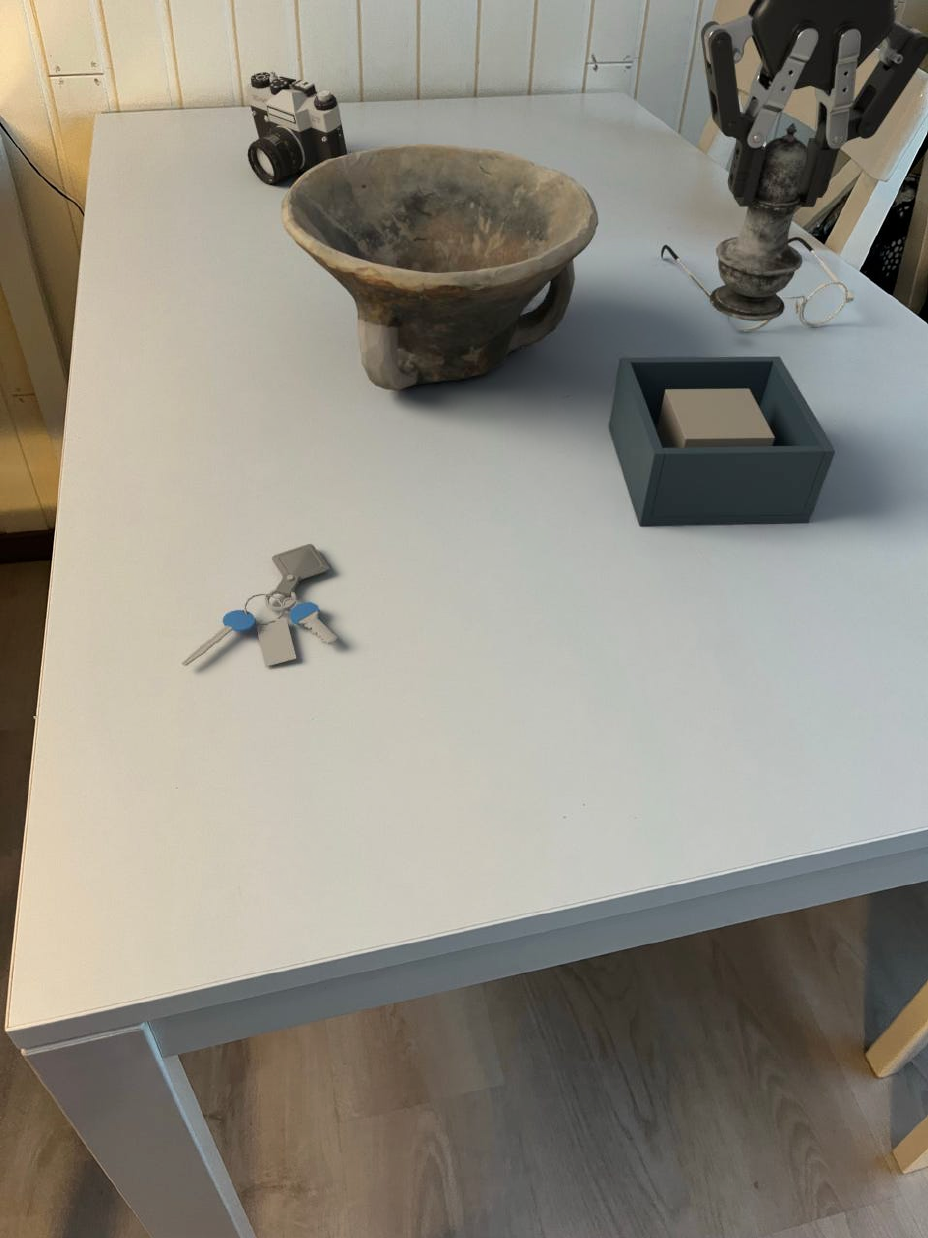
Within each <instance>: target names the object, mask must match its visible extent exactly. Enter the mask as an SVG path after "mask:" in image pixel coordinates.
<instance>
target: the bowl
mask: <svg viewBox="0 0 928 1238" xmlns="http://www.w3.org/2000/svg"><path fill="white" fill-rule="evenodd" d="M347 154H348V155H345V156H341V157H338V158H333V159H328V160H326V161H324V162H322V163H320V164H318V165H317V166H315V167H313V168H311V169H310V170H308V171H307V172H303V174H302V175H301V176H300V177H298V178H297V179H296V180H295V182H294V183H293V184H292V185H291V187H290V188H289V189H288V190H287V192H286V193H285V195H284V197H283V198H282V201H281V205H280V207H281V208H280V219H281V221H282V224H283V227H284V229H285V231H286V232H287V233H288V235H289V236H290V237H291V238H292V240H293V241H294V242H295V244H296V245H298V246H299V247H300V248H301V249H302V250H303V251H304V252H305V253H307V254H308V256H309V257H311V258H312V259H313V260H314V261H315V263H317V265H319V267H321V268H323V269H324V270H325V271H327V273H329V274H330V275H331V276H332V277H333V278H334V279H335V280H336V281H337V282H338V283H339V284H340V285H341V286H342V287H343V288H344V289H345V290H346V291H347V292H348V294H350V296H351V297H352V299H353V302H354V303H355V306H356V307H355V308H356V311H357V335H358V336H357V337H358V338H357V339H358V344H359V345H358V346H359V352H360V359H361V365H362V366H363V368H364V371H365V373H366V375H367V378H368V380H369V381H370V382H371V383H372V384H373V385H374V386H376V387H378V388H381V389H383V390H389V391H399V390H402V389H405V388H408V387H411V386H416V385H426V384H434V383H439V382H440V383H441V382H448V381H459V380H465V379H468V378H471V377H473V376H481V375H486V374H488V373H490V372H492V371H494V370H495V369H497V368H498V367H500V366H501V365H502V364H504V363H505V361H506V360H507V358H508V355H509V353H511V352H514V351H517V350H521V349H524V348H527V347H530V346H534V345H536V344H538V343H540V342H542V341H543V340H544V339H546V338H547V337H548V336H549V335H550V334H551V333H552V332H554V331H555V330H556V329H557V327H558V326H559V324H560V323H561V322H562V320H563V319H564V317H565V314H566V311H567V309H568V306H569V304H570V301H571V298H572V294H573V290H574V286H575V280H576V275H575V264H574V259H576V258H577V257H578V256H579V255H580V254H581V253H583V251H584V250H586V248H587V247H588V245H590V243H592V240H593V238H594V236H595V234H596V232H597V227H598V226H599V213H598V210H597V207H596V205H595V202H594V200H593V198H592V196H591V195H590V193H589V192H588V191H587V190H586V188H585V187H583V186H582V185H581V184H580V183H578V181H576V179H574V178H573V177H571V176H570V175H568V174H566V173H564V172H561V171H559V170H555V169H553V168H552V169H551V168H548V167H545V166H543V165H539V164H538V163H536V162H533V161H531V160H529V159H527V158H525V157H522V156H520V155H517V154H516V155H515V154H513V153H510V152H509V153H508V152H504V151H502V150H495V149H489V148H479V147H478V148H477V147H476V148H475V147H468V146H467V147H466V146H458V145H448V144H433V143H407V144H400V145H393V146H382V147H377V148H372V149H367V150H366V149H365V150H360V151H356V152H351V153H347ZM548 284H549V286H548V291H547V293H546V295H545V297H544V299H543V300H542V302H541V303H540V304H539V305H538V306H536V308H534V309H532V310H531V311H528V312H525V313H523V312H524V310H525V308H527V306H528V305H530V303H531V302H532V301H533V300H534V298H536V297H537V296H538V294H540V292H541V291H542V290H543V289H544V288H545V287H546V286H547V285H548ZM522 313H523V314H522Z"/></svg>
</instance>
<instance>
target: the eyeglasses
mask: <svg viewBox="0 0 928 1238" xmlns="http://www.w3.org/2000/svg"><path fill="white" fill-rule="evenodd" d="M793 242H800V243H801V244H802V245H803V247H805V248H806V249H807V250H808V251H809V253H810V254H812V255H813V256H815V258H816V259H817V260H818V262H819V264H820V265H821V266H822V267H823V268H824V270H825V272H826V273H827V274H828V275H829V276H830V278H832V281H828V282H825V283H823V284H821V285H820V286H817V288H815V289H814V290H813V291H812V292H810V294H809V295H808V296H807V297H805V295H804V294H802V295H796V296H795V295H794V296H787V295H782V296H779V297H780V298H781V299H782V300H783V299H784V300H785V299H789V300H793V299H796V300H794V311H795V314H798V315H797V316H798V319H799V321H800V322H801V324H802V325H805V326H806V327H813V328H817V327H819V325H822V324H825V323H827V322H829V321H830V320H832V319H833V318H834V317H836V316H837V315H838V314H839V313H840V311H841V310H842V309H843V308H844V307H845V304H847V303H851V302H854V300H855V297H854V296H853V294H851V292H850V291H849V290H848V288H847V286H845V285H844V284H843V283H842V281H841V280H839V278H838V277H837V276H836V275H835V274H834V272H833V271H832V270H831V269H830V268H829V267H828V266H827V264H826V263H825V262H824V261H823V260H821V259H820V258H819V256H818V255H817V254H816V251H815V249H814V248H813V247H812V246H811V244H810V243H808V242H807V241H806V240H805V239H804V238H802V237H800V236H794V237H791V238H788V244H791V243H793ZM665 250H666V251H668V253H669V254H670V256H671V257H672V258H673V259H674V261H675V262H677V263H678V264H679V265H680V266H681V267H682V268H683V269H684V270H685V272H686V274H687V275H688V276H689V277H690V278H691V280H692V281H693V282H694V283H695V285H697V287H699V289H700V290H701V291H702V292H703V294H705V296H706V297H707V298H708V299H709V300H710V295H711V293H710V292H709V291H708V290H707V289H706V288H705V286H704V285H703V284H702V283H701V281H699V280H698V279H697V278H696V277H695V275H694V274H693V273H692V272H691V270H689V268H687V267H685V265H684V264H683V263H682V261H681V258H680V257H679V256H678V255H677V254H676V253H675V251H674V250H673V249H672V248H671V246H669V245H668V244H664V245H662V247H661V251H660V257H661V260H663V258H664V253H665ZM830 285H837V286H838V287H839V288H840V290H841V291H842V292H843V293H844V298H843V300H842V303H841V304H840V306H839V307H838V308H837V310H836V311H835V312H834V313H832V314H831V315H830V316H828V317H827V318H825V319H824V320H821V321H817V322H811V321H807V320H806V318H805V315H804V313H805V310H806V309H805V308H806V306H807V304H808V302H809V301H810V299H811V298H812V297H813V296H814V295H815V294H816V293H817V292H818V291H820V290H821V289H823V288H824V287H825V288H826V287H827V286H830ZM798 299H800V301H799V302H798ZM727 319H728V322H729V324H730V325H731V326H732V327H733V328H734V329H736V330H739V331H742V333H748V332H754V331H756V330H760V329H761V328H763V327H765V326H766V325H768V324H769V323H770V322H771V321H773V319H771V320H765V321H761V322H760V323H758V324H756V325H753V326H750V327H739V326H736V325H734V324H733V322H732V321H731V317H730V316H728V315H727Z"/></svg>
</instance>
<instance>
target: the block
mask: <svg viewBox="0 0 928 1238" xmlns="http://www.w3.org/2000/svg"><path fill="white" fill-rule="evenodd" d="M657 434H658V437H659V440H660V442H661V445H662V448H685V447H756V446H772V445H773V442H774V439H775V437H774V435H773V433H772V431H771V429H770V427H769V425H768V424H767V422H766V420H765V418H764V416H763V414H762V412H761V410H760V408H759V406H758V404H757V402H756V401H755V399H754V397H753V395H752V393H751V391H750V389H666V390H665V394H664V399H663V404H662V409H661V414H660V418H659V423H658V428H657Z"/></svg>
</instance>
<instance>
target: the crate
mask: <svg viewBox="0 0 928 1238" xmlns="http://www.w3.org/2000/svg"><path fill="white" fill-rule="evenodd" d="M666 389H750V391H751V393H752V395H753V397H754V399H755V401H756V402H757V404H758V406H759V408H760V410H761V412H762V414H763V416H764V418H765V420H766V422H767V424H768V425H769V427H770V429H771V431H772V433H773V435H774V437H775V439H774V442H773V445H772V446H756V447H685V448H662V445H661V442H660V440H659V437H658V434H657V428H658V423H659V418H660V414H661V409H662V404H663V399H664V394H665V390H666ZM607 428H608V430H609V431H608V432H609V433H610V436H611V441H612V443H613V447H614V449H615V453H616V456H617V460H618V462H619V465H620V469H621V472H622V475H623V478H624V481H625V484H626V488H627V491H628V494H629V497H630V500H631V504H632V507H633V510H634V514H635V517H636V520H637V523H638V526H639V527H655V526H656V527H657V526H658V527H659V526H662V527H663V526H665V527H666V526H704V525H705V526H709V525H710V526H711V525H712V526H714V525H755V524H757V525H758V524H761V525H762V524H763V525H765V524H806V523H810V521H811V518H812V515H813V513H814V511H815V508H816V506H817V502H818V500H819V498H820V494H821V492H822V490H823V486H824V483H825V481H826V480H827V479H826V478H827V476H828V474H829V470H830V467H831V465H832V462H833V460H834V457H835V455H836V449H835V448H834V446H833V444H832V443H831V441H830V439H829V437H828V436H827V434H826V433H825V431H824V429H823V427H822V426H821V424H820V422H819V420H818V419H817V417H816V415H815V414H814V412H813V411H812V409H811V407H810V406H809V404H808V402H807V400H806V399H805V396H804V395H803V393H802V392H801V390H800V388H799V386H798V385H797V383H796V382H795V380H794V378H793V376H792V375H791V373H790V371H789V369H788V368H787V366H786V365H785V363H784V361H783V360H782V357H781V356H779V355H778V356H777V355H776V356H773V355H772V356H669V357H668V356H665V357H664V356H661V357H660V356H659V357H658V356H657V357H656V356H655V357H650V356H649V357H648V356H646V357H645V356H643V357H639V356H638V357H637V356H636V357H635V356H634V357H631V356H630V357H619V359H618V365H617V372H616V378H615V383H614V390H613V395H612V402H611V408H610V414H609V420H608V425H607Z"/></svg>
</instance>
